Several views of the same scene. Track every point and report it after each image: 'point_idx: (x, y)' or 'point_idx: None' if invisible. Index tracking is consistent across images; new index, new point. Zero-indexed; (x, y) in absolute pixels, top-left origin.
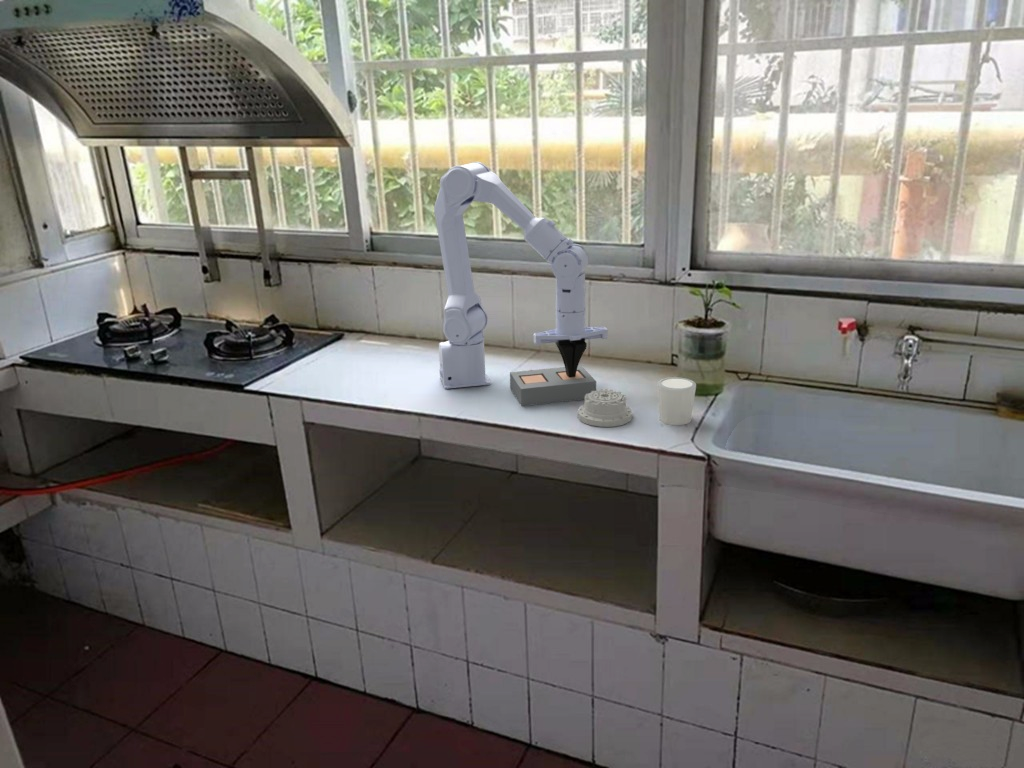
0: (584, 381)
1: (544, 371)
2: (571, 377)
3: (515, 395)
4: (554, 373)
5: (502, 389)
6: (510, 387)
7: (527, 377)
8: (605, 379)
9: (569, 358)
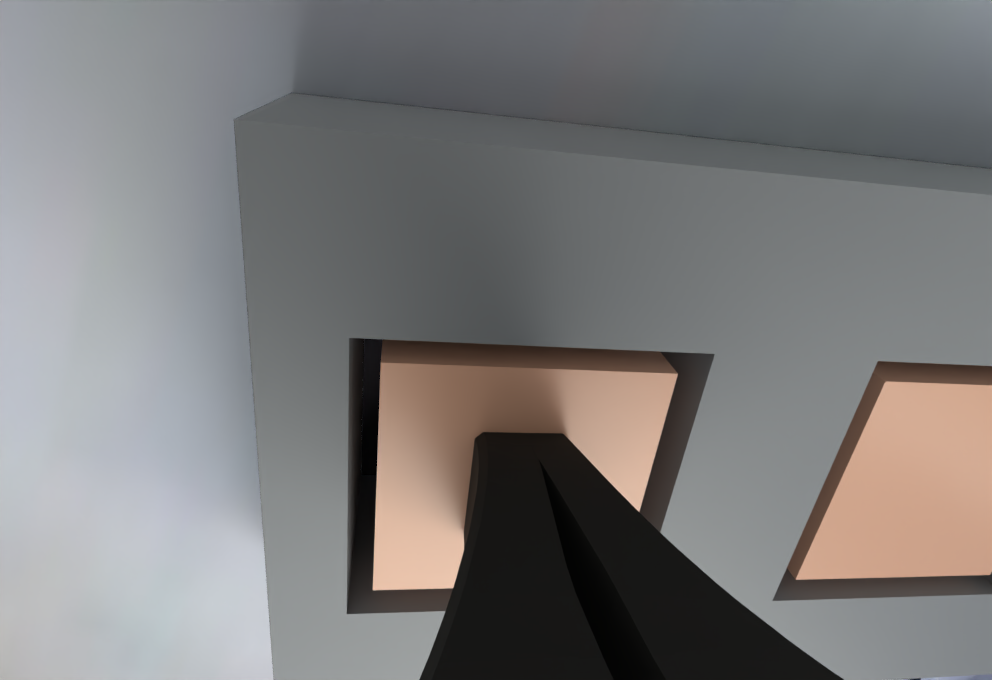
0: (439, 190)
1: None
2: (538, 422)
3: None
4: None
5: None
6: None
7: (956, 543)
8: (53, 556)
9: (719, 658)
